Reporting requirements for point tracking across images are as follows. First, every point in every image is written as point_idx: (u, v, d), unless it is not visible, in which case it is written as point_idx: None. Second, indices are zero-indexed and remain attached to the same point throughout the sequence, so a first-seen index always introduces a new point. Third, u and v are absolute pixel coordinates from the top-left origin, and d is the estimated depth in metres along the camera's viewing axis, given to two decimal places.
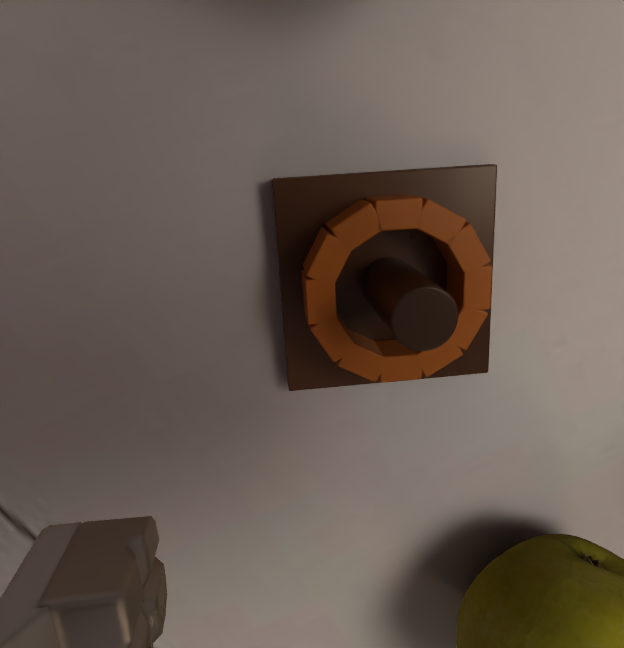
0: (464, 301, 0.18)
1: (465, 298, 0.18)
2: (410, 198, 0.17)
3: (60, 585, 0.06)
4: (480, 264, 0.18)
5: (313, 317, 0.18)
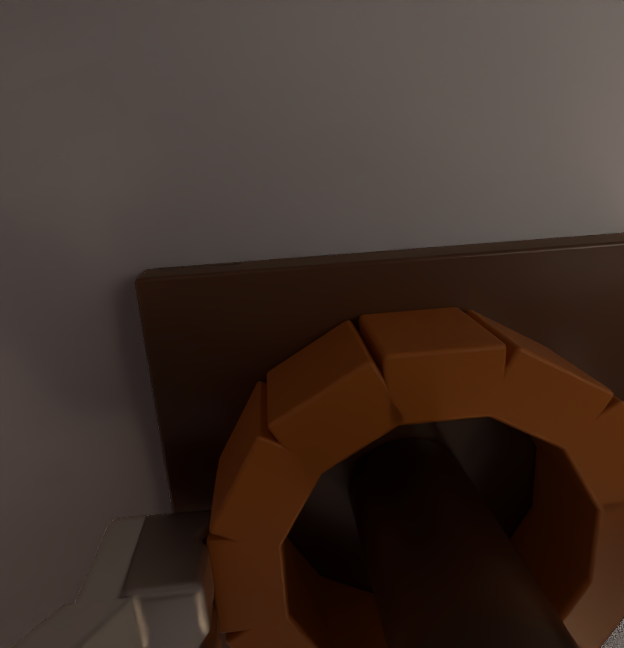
0: (593, 568, 0.08)
1: (597, 563, 0.08)
2: (474, 345, 0.07)
3: (138, 576, 0.06)
4: None
5: (231, 619, 0.07)
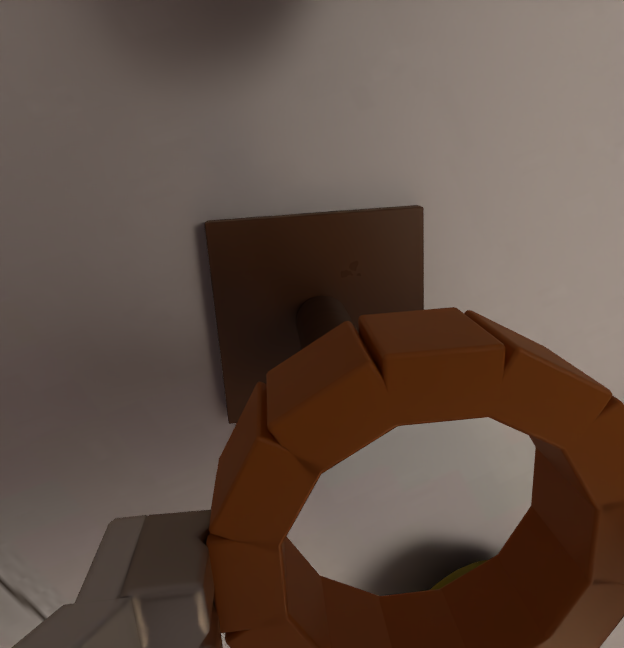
0: (592, 568, 0.08)
1: (596, 564, 0.08)
2: (473, 346, 0.07)
3: (138, 576, 0.06)
4: None
5: (231, 619, 0.07)
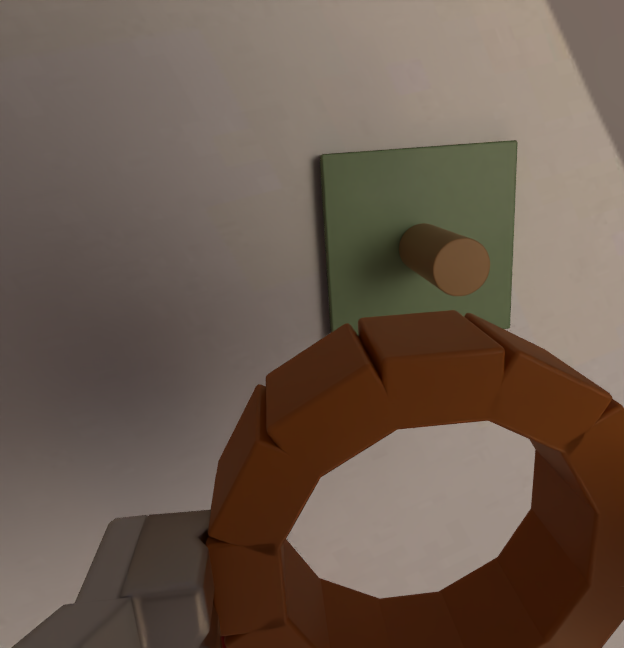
0: (591, 571, 0.08)
1: (595, 567, 0.08)
2: (473, 349, 0.07)
3: (138, 576, 0.06)
4: None
5: (230, 622, 0.07)
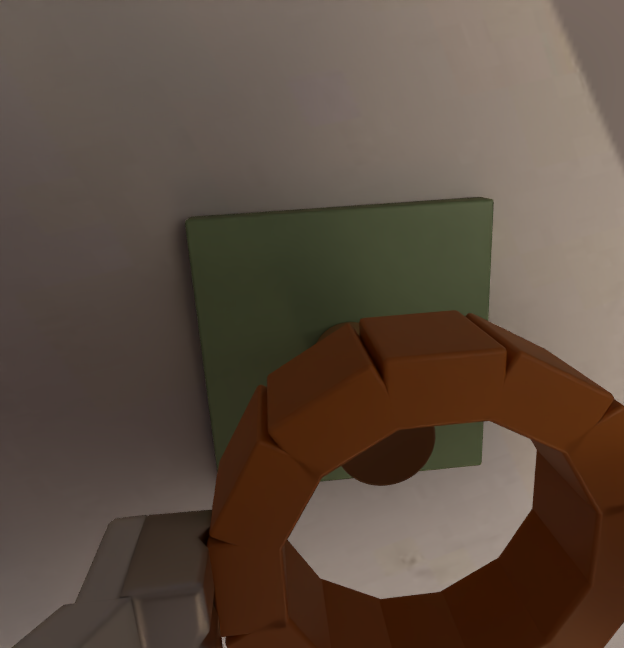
0: (593, 571, 0.08)
1: (597, 567, 0.08)
2: (475, 349, 0.07)
3: (138, 576, 0.06)
4: None
5: (231, 623, 0.07)
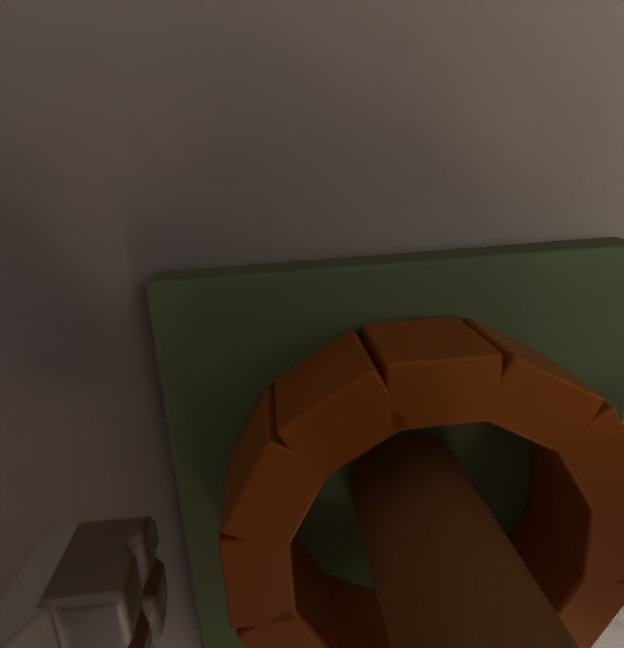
0: (587, 565, 0.08)
1: (590, 561, 0.08)
2: (472, 354, 0.07)
3: (60, 585, 0.06)
4: None
5: (242, 615, 0.08)
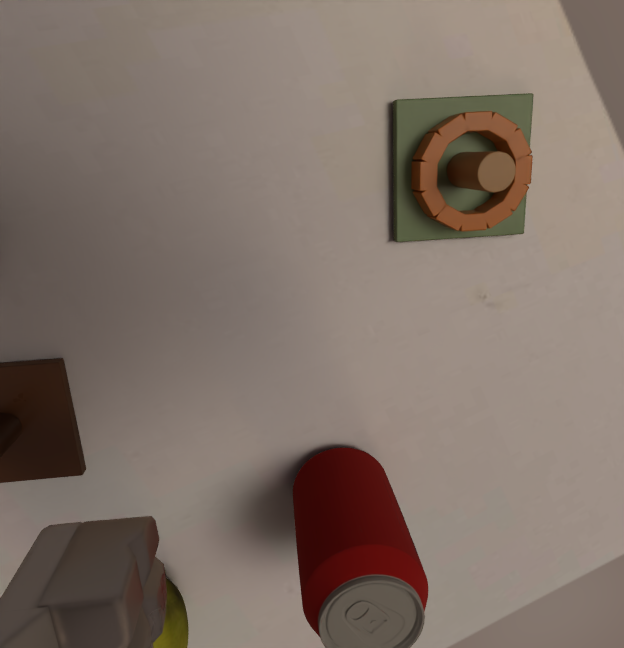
0: (514, 178, 0.30)
1: (515, 176, 0.30)
2: (485, 111, 0.29)
3: (60, 585, 0.06)
4: (525, 154, 0.29)
5: (423, 186, 0.29)
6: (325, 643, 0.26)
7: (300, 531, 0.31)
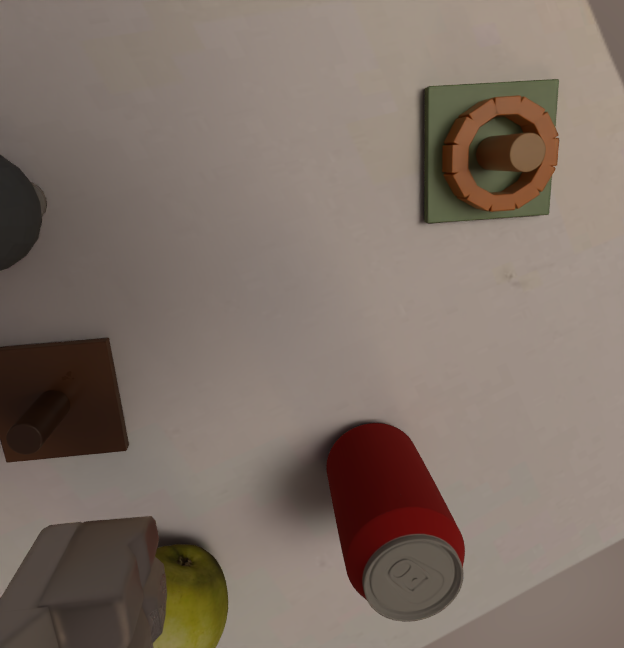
0: None
1: None
2: (514, 96, 0.30)
3: (60, 585, 0.06)
4: (552, 137, 0.31)
5: (455, 168, 0.31)
6: (369, 600, 0.28)
7: (339, 499, 0.33)
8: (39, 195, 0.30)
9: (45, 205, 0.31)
